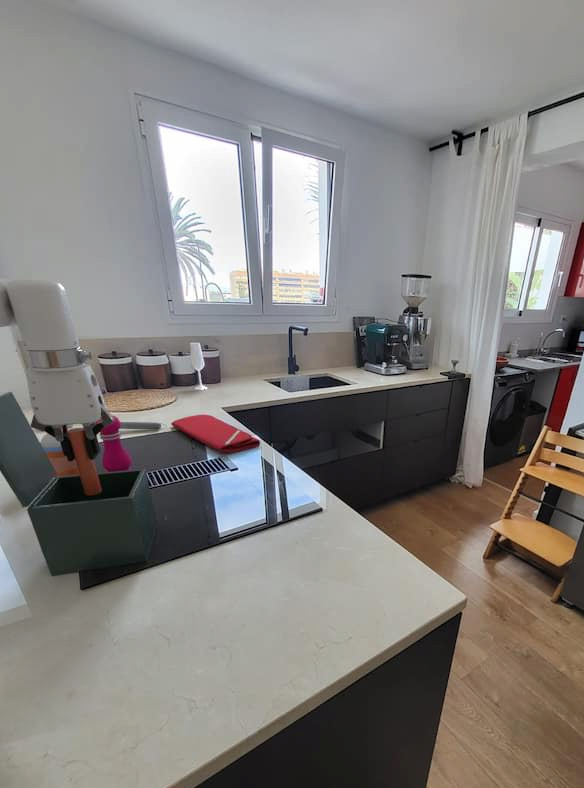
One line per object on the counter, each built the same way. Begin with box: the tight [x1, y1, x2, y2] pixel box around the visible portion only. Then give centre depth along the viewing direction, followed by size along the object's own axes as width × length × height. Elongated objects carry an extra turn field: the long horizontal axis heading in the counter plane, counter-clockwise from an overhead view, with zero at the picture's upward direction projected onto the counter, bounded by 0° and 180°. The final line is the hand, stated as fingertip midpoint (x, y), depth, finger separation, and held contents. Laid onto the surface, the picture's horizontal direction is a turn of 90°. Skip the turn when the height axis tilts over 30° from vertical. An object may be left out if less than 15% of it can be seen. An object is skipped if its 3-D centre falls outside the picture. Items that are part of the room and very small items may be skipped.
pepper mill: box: [95, 414, 133, 472], centre depth 110 cm, size 7×7×20 cm
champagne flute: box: [189, 342, 208, 391], centre depth 211 cm, size 7×7×24 cm
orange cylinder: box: [67, 427, 102, 496], centre depth 75 cm, size 3×3×13 cm
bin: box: [26, 468, 158, 577], centre depth 80 cm, size 17×14×15 cm
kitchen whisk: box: [67, 421, 168, 430], centre depth 148 cm, size 6×34×6 cm, turn 102°
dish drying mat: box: [170, 414, 261, 454], centre depth 147 cm, size 16×41×4 cm, turn 45°
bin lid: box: [0, 391, 57, 508], centre depth 71 cm, size 18×14×1 cm
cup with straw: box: [40, 433, 79, 479], centre depth 109 cm, size 9×9×18 cm
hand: (83, 456), depth 74 cm, fingers closed on orange cylinder, 2 cm apart
